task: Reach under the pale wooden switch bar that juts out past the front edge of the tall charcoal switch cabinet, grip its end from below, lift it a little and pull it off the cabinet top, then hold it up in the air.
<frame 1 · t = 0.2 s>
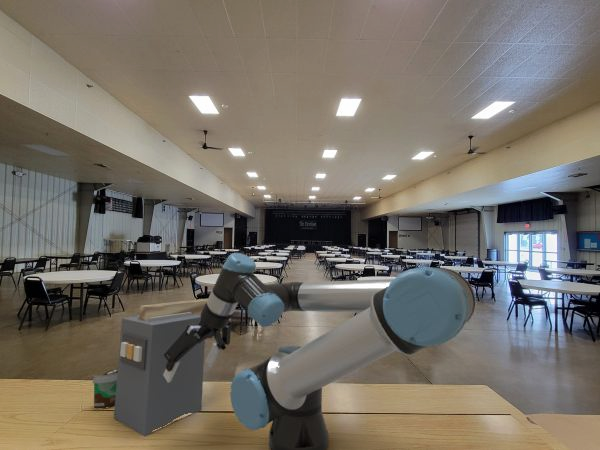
hand: (188, 370, 87), 15 cm above the table, tool tilted 30°, fingers open, 13 cm apart
food container: (114, 403, 100), on the table
switch cabinet: (158, 413, 93), on the table
switch bar: (182, 314, 101), point 28 cm above the table, touching switch cabinet
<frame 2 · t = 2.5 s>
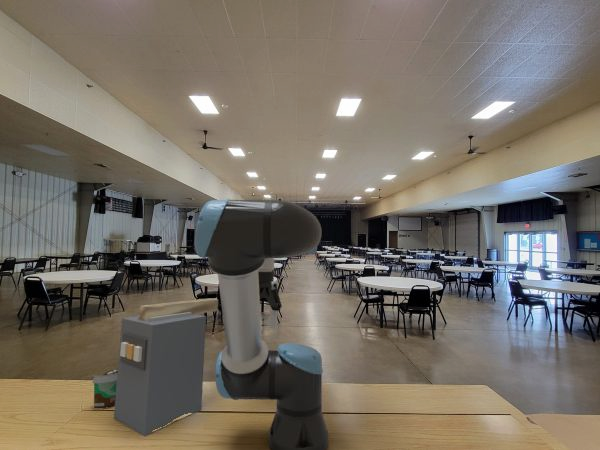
hand: (261, 332, 109), 21 cm above the table, tool pointing down, fingers open, 13 cm apart
nothing on the table moved.
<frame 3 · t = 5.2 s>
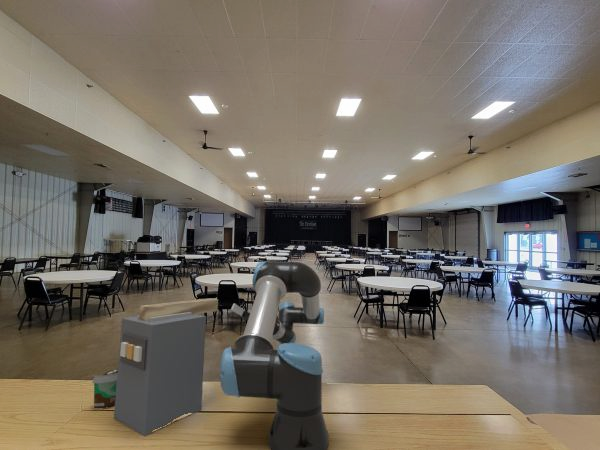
hand: (245, 308, 125), 27 cm above the table, tool pointing upward, fingers open, 13 cm apart
nothing on the table moved.
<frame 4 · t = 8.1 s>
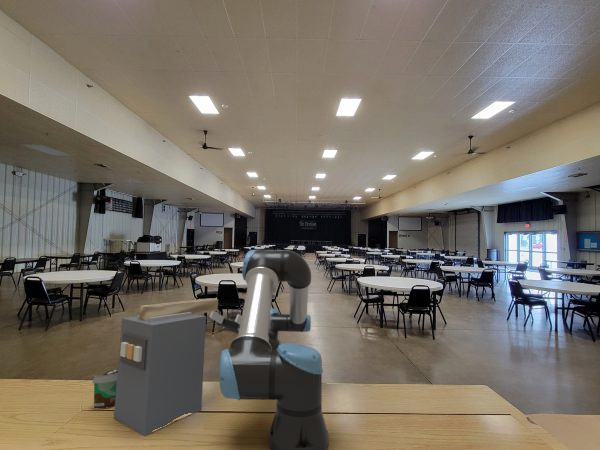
hand: (223, 315, 116), 25 cm above the table, tool pointing upward, fingers open, 13 cm apart
nothing on the table moved.
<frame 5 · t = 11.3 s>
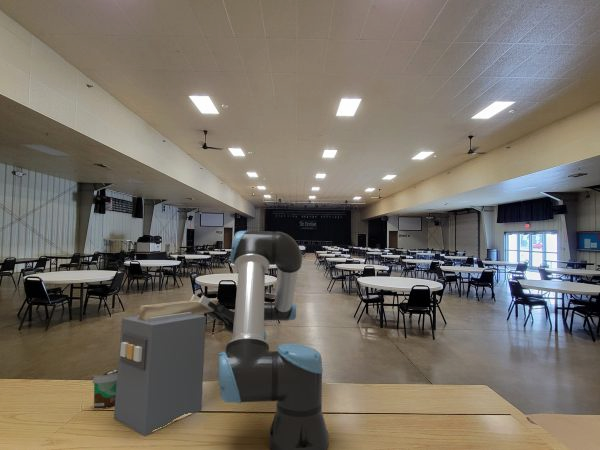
hand: (196, 298, 106), 33 cm above the table, tool pointing upward, fingers closed on switch bar, 4 cm apart
switch bar: (182, 314, 101), point 28 cm above the table, touching gripper, switch cabinet
everything else where it was.
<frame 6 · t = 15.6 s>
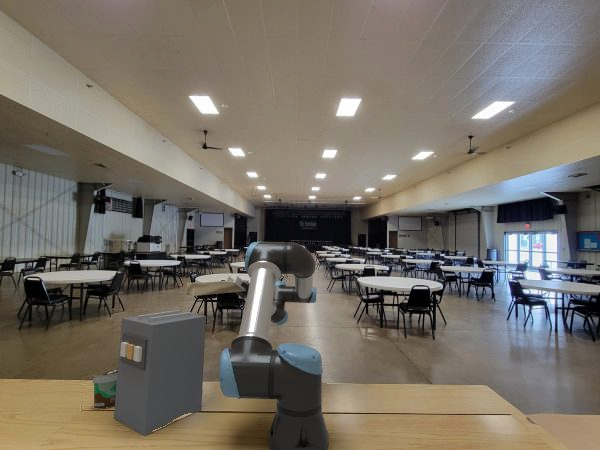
hand: (231, 279, 120), 39 cm above the table, tool pointing upward, fingers closed on switch bar, 4 cm apart
switch bar: (220, 292, 115), point 34 cm above the table, touching gripper
everything else where it was.
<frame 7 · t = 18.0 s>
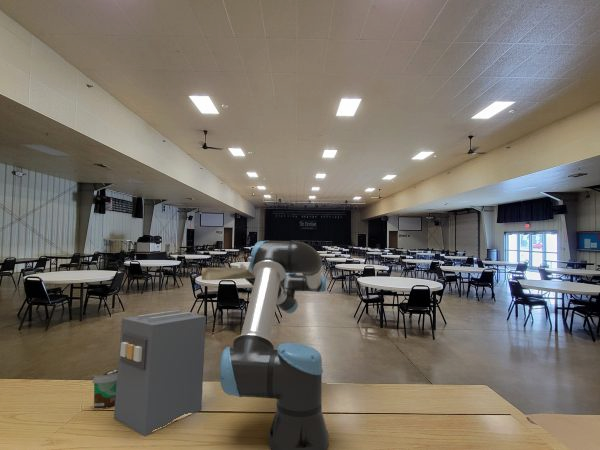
hand: (243, 266, 123), 44 cm above the table, tool pointing upward, fingers closed on switch bar, 4 cm apart
switch bar: (233, 278, 118), point 39 cm above the table, touching gripper
everything else where it was.
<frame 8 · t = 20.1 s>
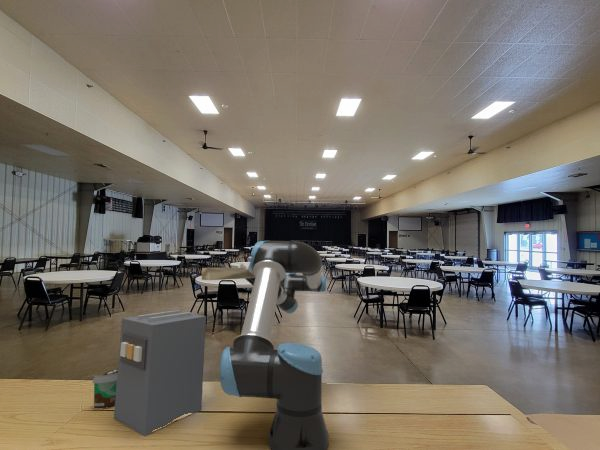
hand: (243, 266, 123), 44 cm above the table, tool pointing upward, fingers closed on switch bar, 4 cm apart
switch bar: (233, 278, 118), point 39 cm above the table, touching gripper
everything else where it was.
at the end: the gripper is holding switch bar; switch bar touching gripper; switch bar moved 22.9 cm from its start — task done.
